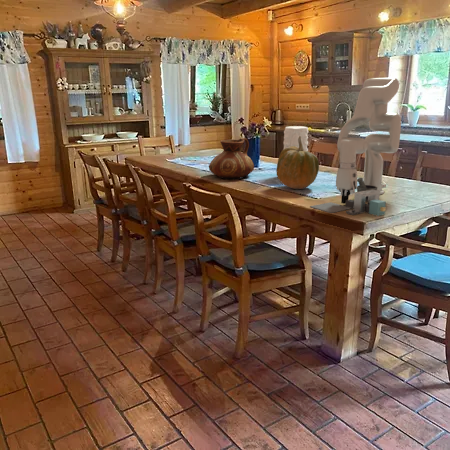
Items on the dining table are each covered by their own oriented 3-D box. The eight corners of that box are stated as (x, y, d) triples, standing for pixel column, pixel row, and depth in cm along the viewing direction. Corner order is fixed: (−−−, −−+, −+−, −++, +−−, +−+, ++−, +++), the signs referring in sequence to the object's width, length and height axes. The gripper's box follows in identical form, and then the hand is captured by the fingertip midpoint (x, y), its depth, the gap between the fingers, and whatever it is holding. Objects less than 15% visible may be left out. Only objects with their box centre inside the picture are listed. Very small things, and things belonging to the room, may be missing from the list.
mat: (330, 203, 221) (330, 202, 221) (352, 208, 210) (352, 207, 210) (309, 207, 214) (309, 206, 214) (331, 213, 203) (331, 212, 203)
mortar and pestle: (367, 197, 232) (369, 174, 229) (380, 200, 224) (382, 177, 221) (350, 199, 228) (351, 176, 224) (362, 203, 220) (364, 179, 216)
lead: (349, 205, 216) (350, 199, 215) (374, 212, 203) (374, 206, 202) (345, 206, 215) (345, 200, 214) (369, 213, 202) (370, 207, 201)
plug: (376, 212, 204) (377, 199, 202) (387, 215, 198) (388, 202, 196) (368, 213, 202) (369, 200, 200) (380, 216, 196) (381, 203, 194)
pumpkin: (302, 182, 272) (304, 133, 263) (326, 190, 249) (329, 136, 240) (268, 185, 264) (269, 134, 255) (289, 194, 241) (291, 138, 232)
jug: (235, 182, 275) (235, 142, 268) (199, 177, 292) (198, 139, 285) (262, 175, 297) (262, 137, 290) (226, 171, 315) (225, 135, 308)
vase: (306, 173, 300) (308, 125, 291) (308, 178, 285) (310, 127, 276) (281, 173, 302) (282, 126, 293) (282, 178, 287) (283, 127, 278)
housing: (378, 206, 214) (379, 187, 211) (385, 207, 211) (386, 189, 208) (345, 213, 202) (347, 194, 200) (352, 215, 199) (354, 195, 196)
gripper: (364, 167, 207) (361, 205, 212) (341, 163, 219) (338, 199, 225) (353, 168, 203) (351, 207, 209) (330, 164, 215) (328, 201, 221)
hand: (344, 203), depth 217 cm, fingers closed
